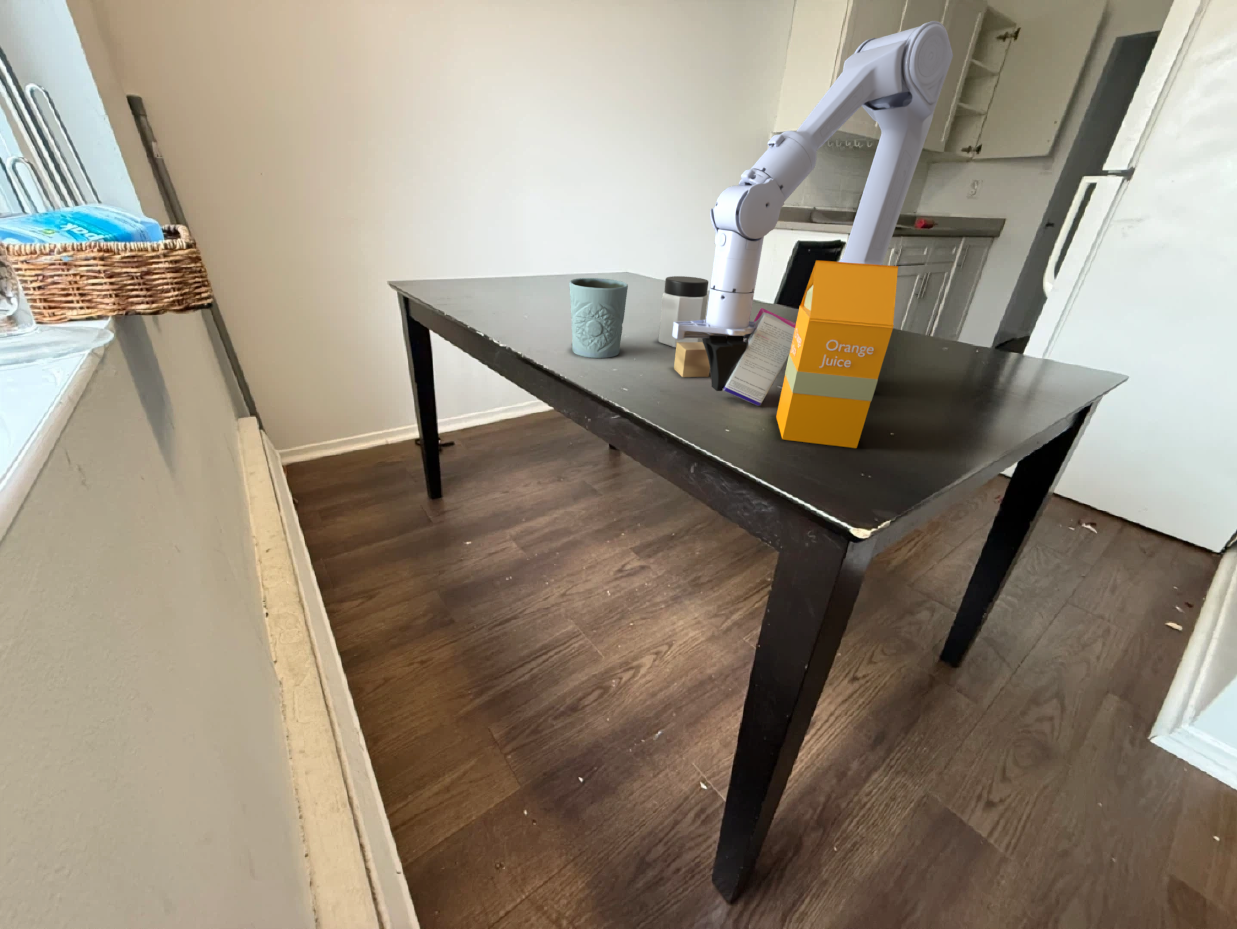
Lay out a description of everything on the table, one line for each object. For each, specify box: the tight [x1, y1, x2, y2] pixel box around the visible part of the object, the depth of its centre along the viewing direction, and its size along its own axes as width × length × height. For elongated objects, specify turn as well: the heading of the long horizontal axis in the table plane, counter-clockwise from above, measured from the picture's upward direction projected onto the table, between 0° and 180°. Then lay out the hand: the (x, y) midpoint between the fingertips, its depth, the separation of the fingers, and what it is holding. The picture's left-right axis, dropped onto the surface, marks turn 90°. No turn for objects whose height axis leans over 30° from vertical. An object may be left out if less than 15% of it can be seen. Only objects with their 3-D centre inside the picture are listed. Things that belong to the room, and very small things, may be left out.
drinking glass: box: [568, 277, 629, 359], centre depth 89 cm, size 10×10×12 cm
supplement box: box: [722, 307, 796, 407], centre depth 71 cm, size 6×6×12 cm
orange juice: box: [775, 259, 899, 449], centre depth 60 cm, size 8×9×20 cm
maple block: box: [673, 341, 710, 378], centre depth 83 cm, size 4×4×4 cm
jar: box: [658, 275, 709, 348], centre depth 98 cm, size 9×8×12 cm
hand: (716, 388), depth 72 cm, fingers closed
